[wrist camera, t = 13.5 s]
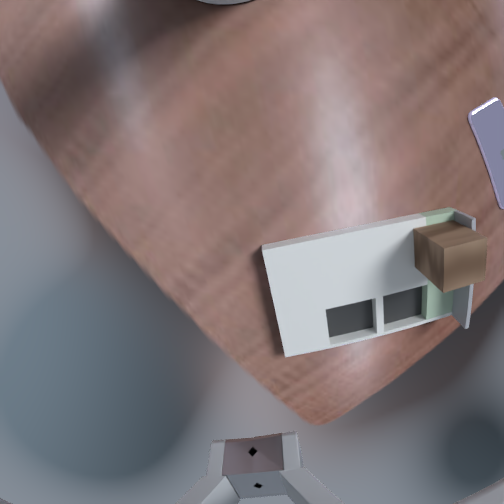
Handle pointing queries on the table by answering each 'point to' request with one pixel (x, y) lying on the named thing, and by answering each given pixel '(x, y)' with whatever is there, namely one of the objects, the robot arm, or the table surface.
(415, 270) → the track
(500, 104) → the mobile phone
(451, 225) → the walnut block
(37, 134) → the table surface
